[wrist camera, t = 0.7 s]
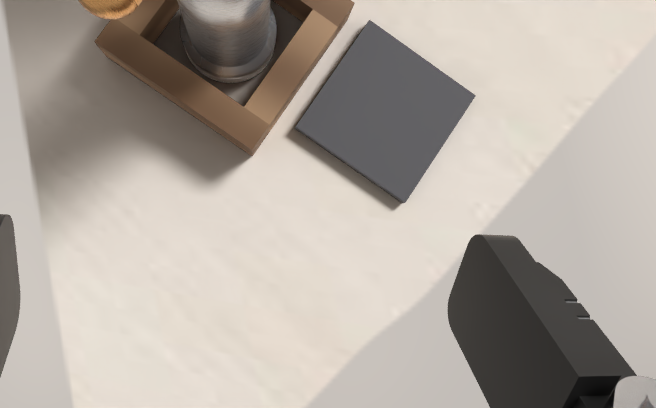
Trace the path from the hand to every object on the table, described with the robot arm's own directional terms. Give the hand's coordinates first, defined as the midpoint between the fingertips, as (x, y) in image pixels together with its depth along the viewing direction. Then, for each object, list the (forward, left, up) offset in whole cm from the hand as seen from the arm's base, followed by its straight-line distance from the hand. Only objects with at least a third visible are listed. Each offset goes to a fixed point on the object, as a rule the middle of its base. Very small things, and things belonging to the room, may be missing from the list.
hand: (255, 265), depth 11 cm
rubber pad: (-10, +2, -21) cm, 24 cm away
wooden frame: (-8, -7, -21) cm, 24 cm away
